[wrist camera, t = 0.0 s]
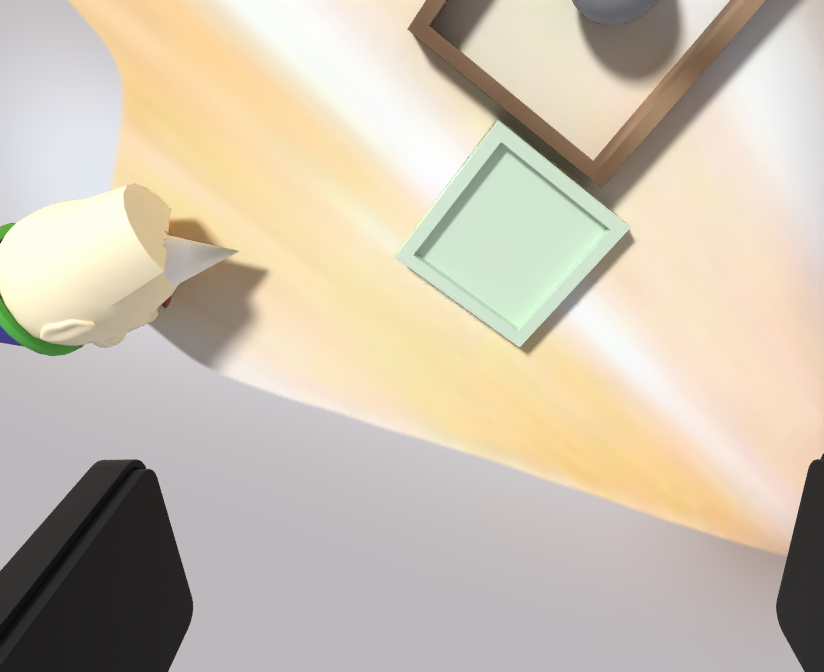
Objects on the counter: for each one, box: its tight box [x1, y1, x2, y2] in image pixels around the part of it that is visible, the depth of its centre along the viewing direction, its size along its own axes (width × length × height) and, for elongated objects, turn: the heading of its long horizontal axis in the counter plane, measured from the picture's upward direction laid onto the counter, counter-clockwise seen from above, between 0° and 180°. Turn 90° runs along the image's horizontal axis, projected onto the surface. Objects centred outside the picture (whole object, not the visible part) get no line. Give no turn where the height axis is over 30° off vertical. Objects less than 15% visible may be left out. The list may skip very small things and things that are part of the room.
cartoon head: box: [0, 184, 239, 356], centre depth 38 cm, size 9×10×20 cm
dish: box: [395, 119, 631, 347], centre depth 38 cm, size 10×10×1 cm
